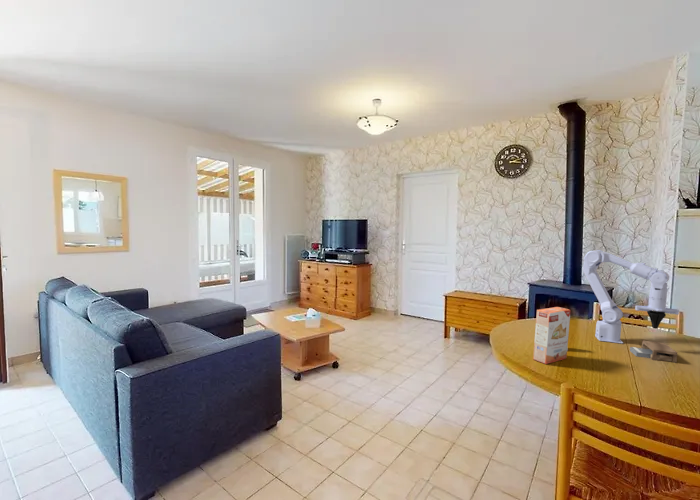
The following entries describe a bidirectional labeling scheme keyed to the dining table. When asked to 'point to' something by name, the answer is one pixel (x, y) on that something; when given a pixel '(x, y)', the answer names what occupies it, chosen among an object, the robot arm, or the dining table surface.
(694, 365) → the dining table surface
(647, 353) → the tile
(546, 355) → the cracker box
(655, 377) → the dining table surface
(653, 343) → the shelf
